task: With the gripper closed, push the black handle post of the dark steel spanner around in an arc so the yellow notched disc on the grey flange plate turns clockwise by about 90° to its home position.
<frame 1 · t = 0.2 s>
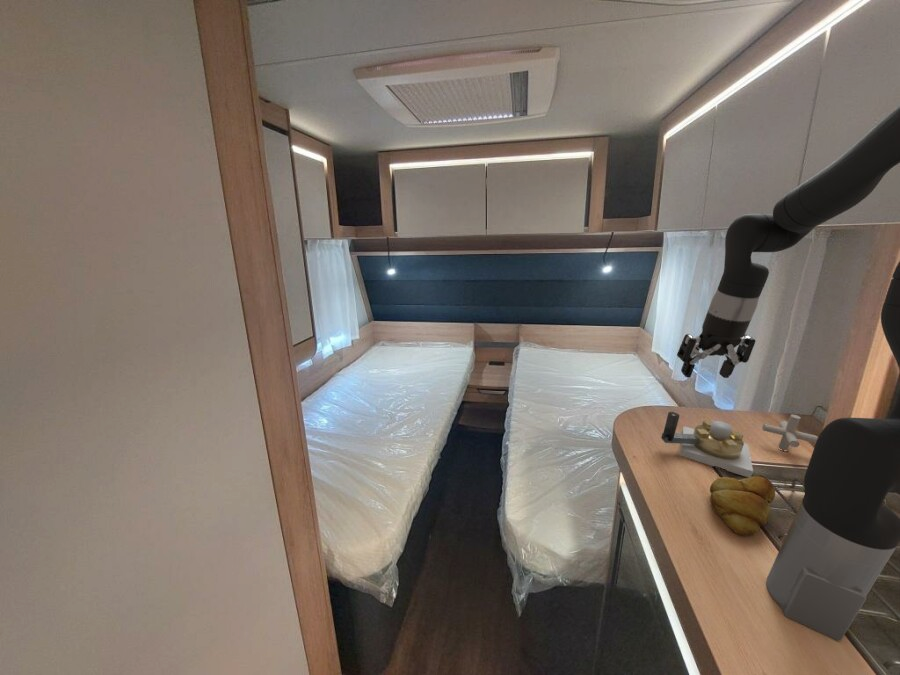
hand: (704, 375, 80), 22 cm above the counter, tool pointing down, fingers open, 8 cm apart
flange plate: (713, 453, 88), on the counter
pipe connector: (782, 449, 90), on the counter
bread roll: (733, 515, 71), on the counter
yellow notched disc: (702, 430, 86), point 7 cm above the counter, hinge at 0.0°
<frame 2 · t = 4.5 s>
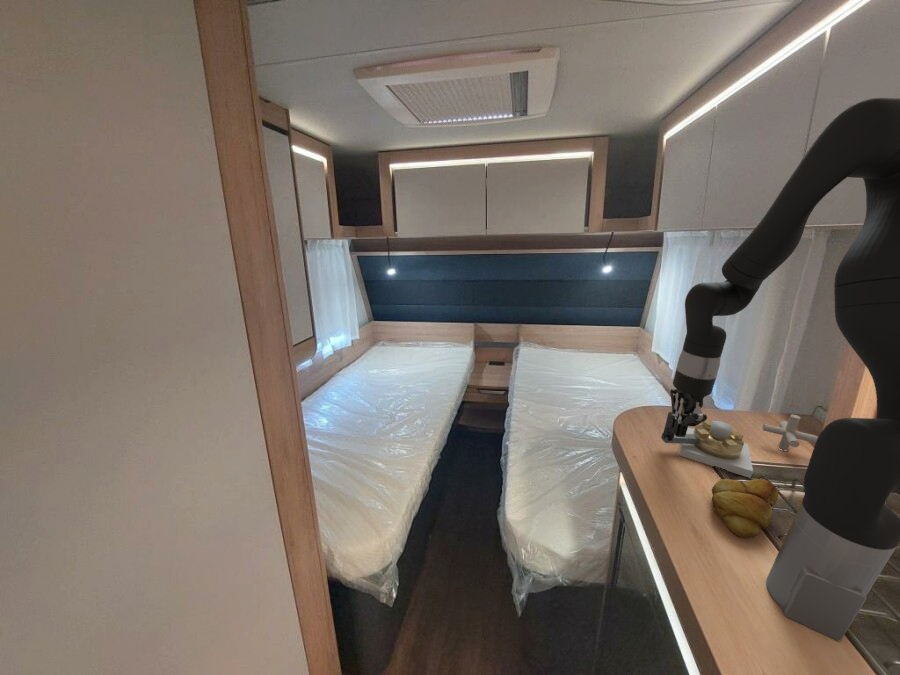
hand: (678, 434, 83), 8 cm above the counter, tool pointing down, fingers closed
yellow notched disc: (702, 430, 86), point 7 cm above the counter, hinge at 0.0°, touching gripper
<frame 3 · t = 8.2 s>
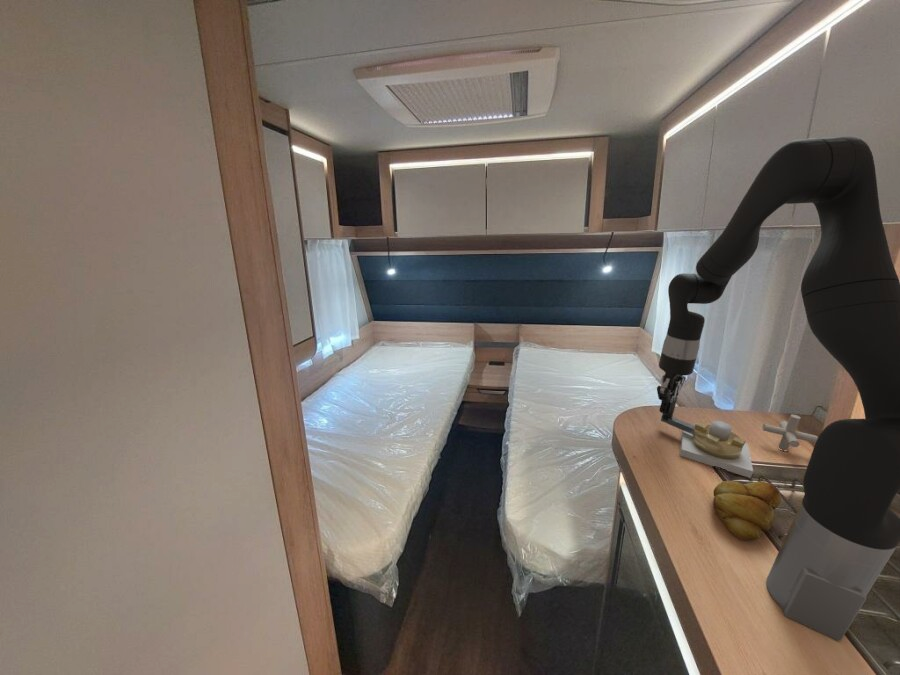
hand: (664, 412, 93), 8 cm above the counter, tool pointing down, fingers closed
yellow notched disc: (701, 423, 89), point 7 cm above the counter, hinge at 49.3°, touching gripper
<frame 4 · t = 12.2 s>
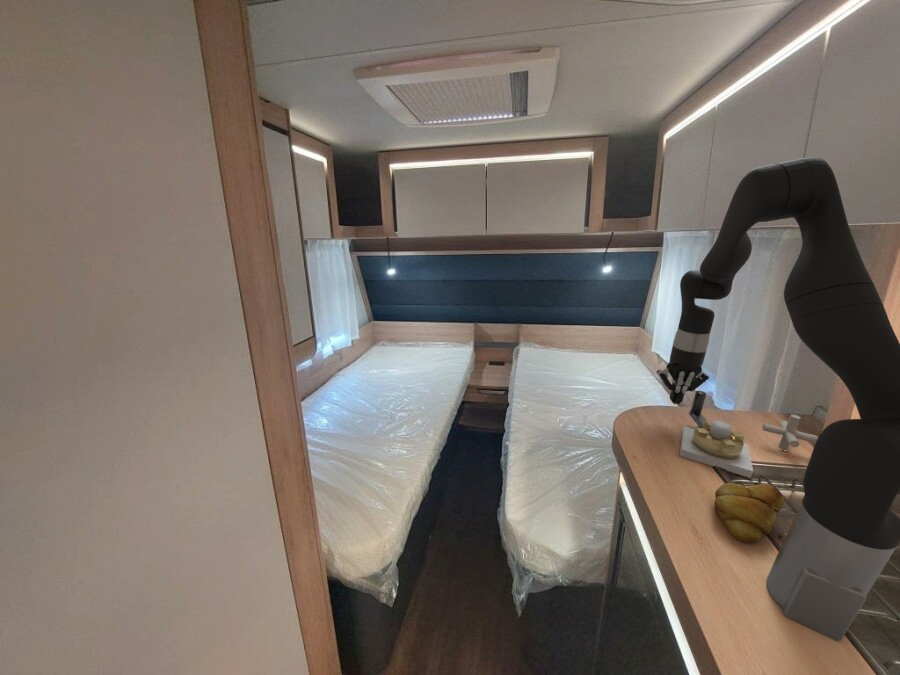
hand: (675, 402, 98), 7 cm above the counter, tool pointing down, fingers closed
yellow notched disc: (711, 422, 90), point 7 cm above the counter, hinge at 96.4°
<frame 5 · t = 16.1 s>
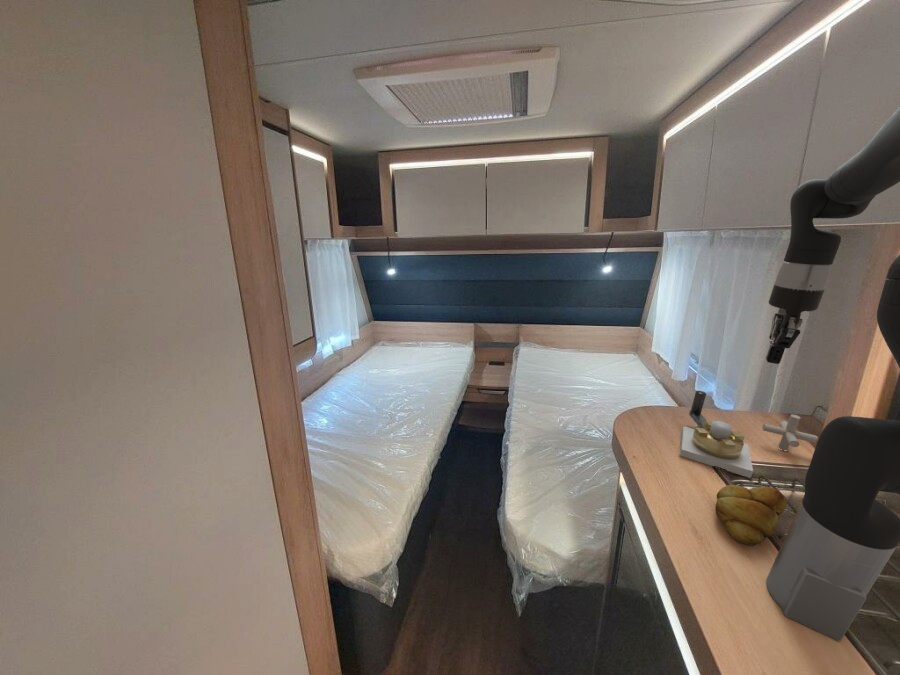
hand: (772, 361, 76), 27 cm above the counter, tool pointing down, fingers closed
at the end: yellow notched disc at +96° (first picture: +0°) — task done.
